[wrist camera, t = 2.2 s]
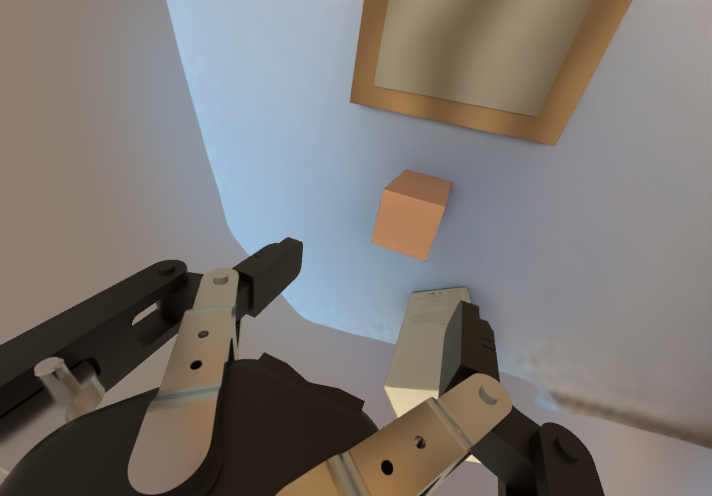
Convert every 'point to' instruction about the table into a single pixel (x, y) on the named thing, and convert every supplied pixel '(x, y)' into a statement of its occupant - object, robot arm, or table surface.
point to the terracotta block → (411, 213)
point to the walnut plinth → (483, 60)
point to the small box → (421, 349)
